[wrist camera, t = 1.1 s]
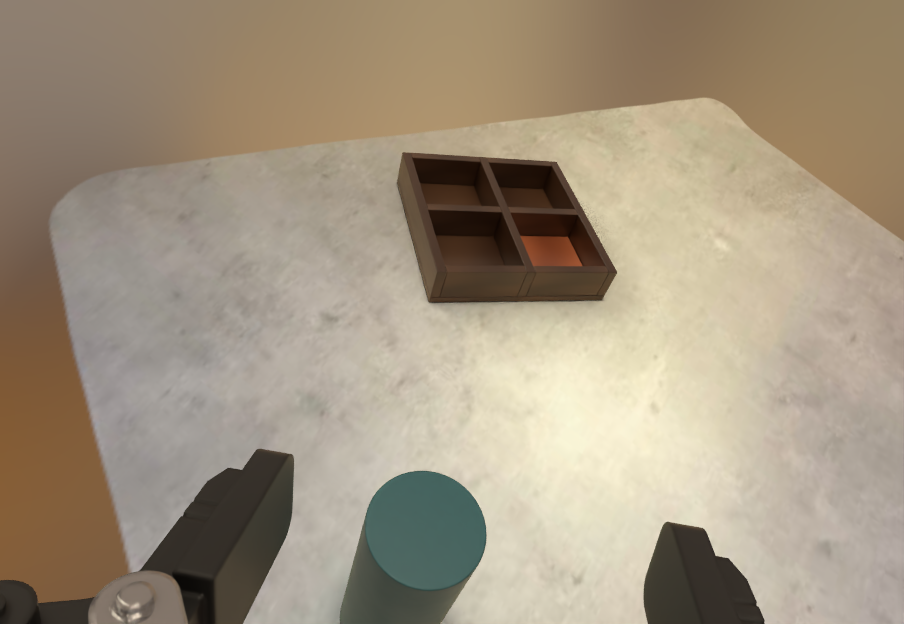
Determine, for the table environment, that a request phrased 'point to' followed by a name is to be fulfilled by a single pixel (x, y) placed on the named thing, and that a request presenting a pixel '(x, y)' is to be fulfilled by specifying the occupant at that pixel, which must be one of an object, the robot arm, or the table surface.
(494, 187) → the grid
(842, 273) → the table surface
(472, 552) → the tall teal cylinder
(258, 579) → the robot arm
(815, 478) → the table surface
